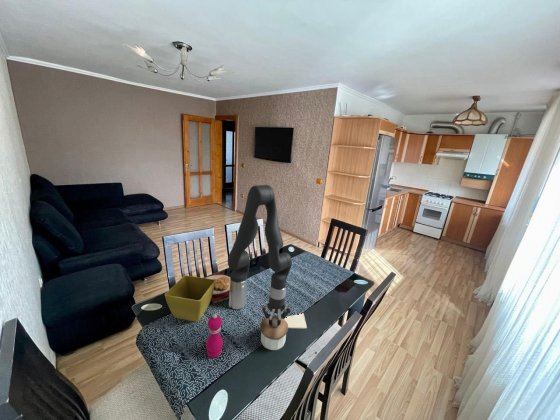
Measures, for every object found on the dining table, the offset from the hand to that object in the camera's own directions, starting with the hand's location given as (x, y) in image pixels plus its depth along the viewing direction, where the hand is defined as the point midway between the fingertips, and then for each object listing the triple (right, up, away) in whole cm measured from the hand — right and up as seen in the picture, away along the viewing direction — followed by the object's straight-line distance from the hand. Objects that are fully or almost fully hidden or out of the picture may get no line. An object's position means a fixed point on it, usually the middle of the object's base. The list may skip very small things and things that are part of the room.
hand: (274, 324), depth 109 cm
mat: (+9, -6, +18) cm, 21 cm away
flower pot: (-46, -2, +15) cm, 48 cm away
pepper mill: (-27, -9, -7) cm, 29 cm away
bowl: (-1, -9, +2) cm, 9 cm away
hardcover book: (-36, +2, +33) cm, 49 cm away
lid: (0, -2, 0) cm, 2 cm away
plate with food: (-31, -1, +34) cm, 46 cm away
